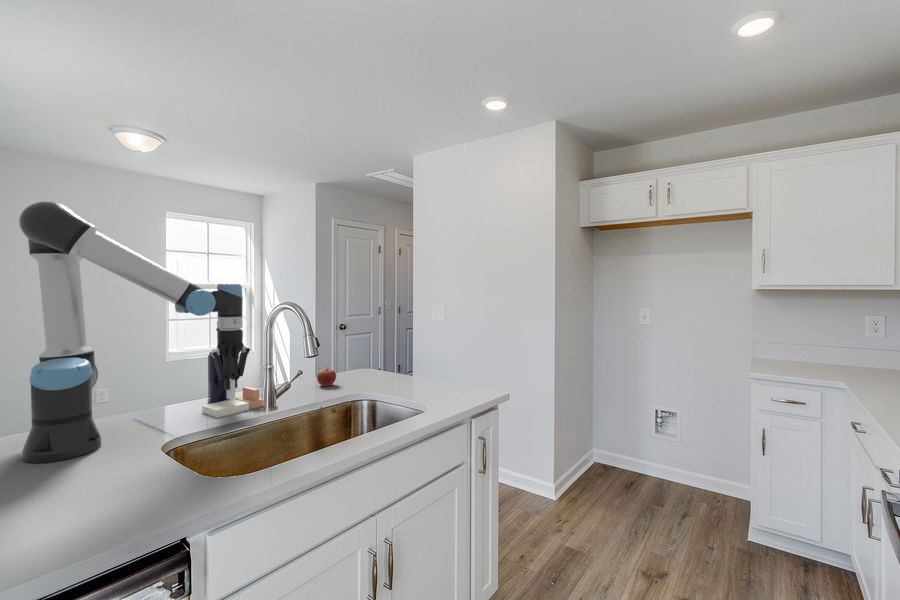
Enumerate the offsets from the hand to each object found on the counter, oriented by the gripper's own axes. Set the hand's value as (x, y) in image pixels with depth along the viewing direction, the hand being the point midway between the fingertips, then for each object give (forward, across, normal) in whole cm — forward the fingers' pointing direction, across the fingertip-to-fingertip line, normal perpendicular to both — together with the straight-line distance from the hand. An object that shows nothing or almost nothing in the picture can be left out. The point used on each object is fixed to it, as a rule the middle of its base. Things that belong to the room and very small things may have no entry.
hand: (230, 398), depth 146 cm
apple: (+5, +46, +6) cm, 47 cm away
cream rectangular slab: (+4, -2, 0) cm, 4 cm away
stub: (+4, +7, 0) cm, 8 cm away
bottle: (+5, +5, +15) cm, 16 cm away
